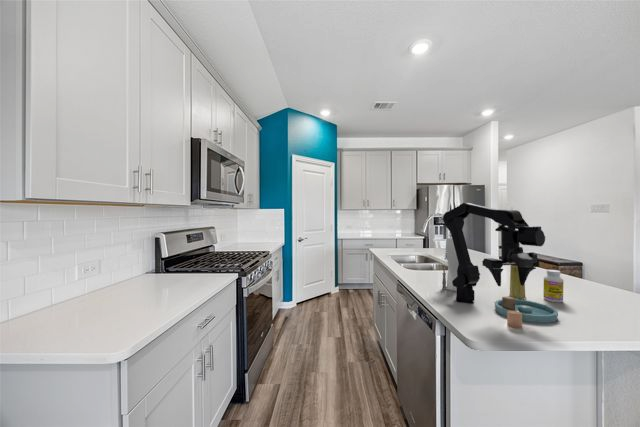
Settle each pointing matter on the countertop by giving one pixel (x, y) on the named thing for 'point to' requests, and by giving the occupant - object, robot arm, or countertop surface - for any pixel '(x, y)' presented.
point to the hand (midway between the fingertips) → (510, 285)
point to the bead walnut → (508, 303)
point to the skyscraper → (450, 266)
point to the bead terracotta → (514, 319)
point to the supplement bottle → (553, 286)
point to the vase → (516, 284)
